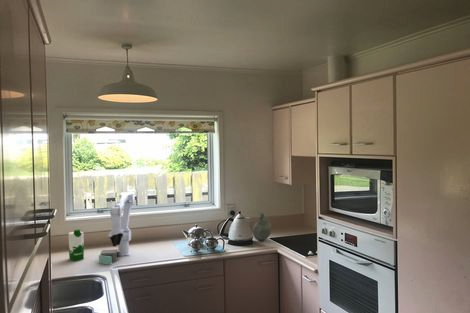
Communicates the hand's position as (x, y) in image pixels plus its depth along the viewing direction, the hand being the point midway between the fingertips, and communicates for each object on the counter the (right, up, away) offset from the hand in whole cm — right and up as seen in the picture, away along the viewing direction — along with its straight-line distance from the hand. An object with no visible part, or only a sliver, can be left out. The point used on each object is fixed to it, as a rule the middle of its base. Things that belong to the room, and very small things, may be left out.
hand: (116, 245), depth 249 cm
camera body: (-5, -10, +2) cm, 12 cm away
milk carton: (-28, -11, +4) cm, 30 cm away
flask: (+100, -9, +51) cm, 113 cm away
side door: (-5, -10, -6) cm, 13 cm away
